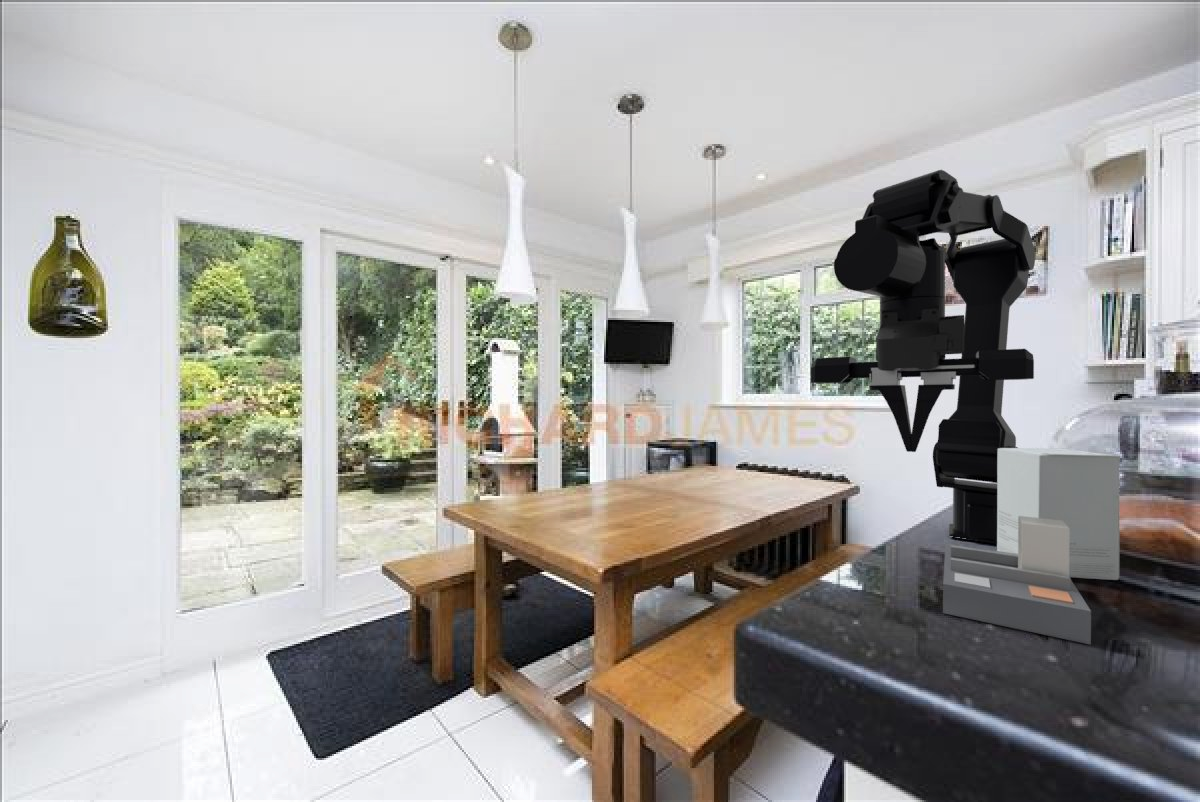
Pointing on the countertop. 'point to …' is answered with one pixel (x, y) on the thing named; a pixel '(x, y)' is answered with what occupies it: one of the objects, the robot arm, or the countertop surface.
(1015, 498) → the supplement box
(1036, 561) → the switch tab
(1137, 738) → the countertop surface
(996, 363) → the robot arm
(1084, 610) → the switch board
